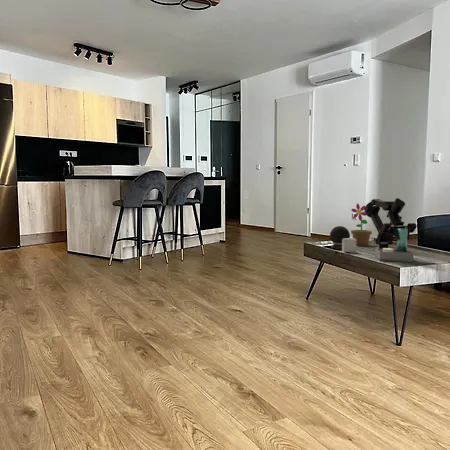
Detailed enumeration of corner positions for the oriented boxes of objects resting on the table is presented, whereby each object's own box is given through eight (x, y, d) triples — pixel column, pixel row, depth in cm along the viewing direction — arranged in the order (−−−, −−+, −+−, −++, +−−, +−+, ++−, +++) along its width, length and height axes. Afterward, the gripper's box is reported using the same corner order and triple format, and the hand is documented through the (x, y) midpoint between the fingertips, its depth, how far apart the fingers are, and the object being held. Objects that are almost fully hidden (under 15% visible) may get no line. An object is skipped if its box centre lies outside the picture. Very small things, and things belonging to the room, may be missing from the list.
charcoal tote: (375, 257, 247) (375, 248, 247) (406, 257, 244) (407, 249, 244) (379, 260, 234) (380, 251, 234) (413, 261, 231) (413, 252, 231)
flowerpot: (346, 244, 303) (347, 203, 301) (357, 243, 313) (358, 202, 310) (364, 246, 292) (366, 203, 290) (375, 245, 302) (376, 203, 300)
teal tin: (396, 249, 239) (397, 228, 238) (406, 250, 237) (407, 228, 236) (396, 251, 234) (397, 228, 233) (406, 251, 232) (408, 229, 231)
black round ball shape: (353, 248, 284) (354, 226, 283) (341, 249, 277) (341, 227, 275) (337, 246, 295) (338, 224, 294) (325, 247, 287) (326, 225, 286)
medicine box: (353, 251, 269) (354, 238, 268) (356, 252, 264) (356, 239, 264) (341, 251, 269) (342, 238, 268) (343, 252, 264) (344, 239, 263)
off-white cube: (382, 256, 243) (382, 248, 242) (391, 256, 242) (391, 248, 241) (384, 258, 238) (384, 249, 237) (393, 258, 237) (393, 249, 236)
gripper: (405, 227, 251) (413, 248, 241) (374, 227, 249) (382, 248, 239) (412, 214, 242) (421, 236, 232) (381, 214, 241) (389, 236, 231)
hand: (403, 239), depth 234 cm, fingers closed on teal tin, 5 cm apart
